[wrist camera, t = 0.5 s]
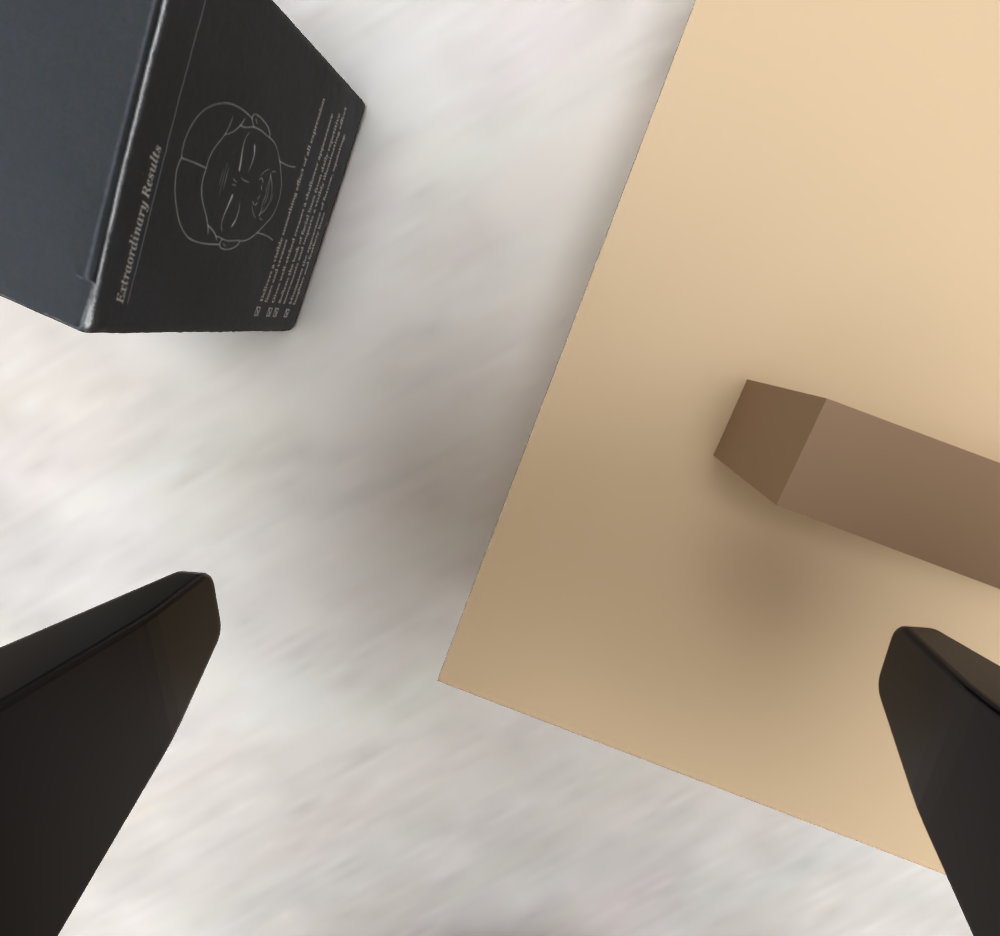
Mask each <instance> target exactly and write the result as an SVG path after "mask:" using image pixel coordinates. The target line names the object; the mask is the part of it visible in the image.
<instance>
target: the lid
mask: <svg viewBox="0 0 1000 936" xmlns="http://www.w3.org/2000/svg"><path fill="white" fill-rule="evenodd" d="M901 626H912V627H926V628H933V629H936V630H938V631H940V632H942V633H943V634H945V635H947V636H948V637H950V638H952V639H954V640H955V641H957V642H959V643H961V644H962V645H964V646H966V647H968V648H969V649H971V650H973V651H975V652H976V653H978V654H980V655H982V656H983V657H985V658H987V659H989V660H990V661H992V662H994V663H996V664H997V665H999V666H1000V0H696V1H695V3H694V6H693V9H692V11H691V14H690V16H689V19H688V22H687V24H686V27H685V30H684V32H683V35H682V38H681V40H680V43H679V45H678V48H677V51H676V53H675V56H674V59H673V61H672V64H671V66H670V69H669V72H668V74H667V77H666V80H665V82H664V85H663V88H662V90H661V93H660V95H659V98H658V101H657V103H656V106H655V109H654V111H653V114H652V116H651V119H650V122H649V124H648V127H647V130H646V132H645V135H644V138H643V140H642V143H641V145H640V148H639V151H638V153H637V156H636V159H635V161H634V164H633V166H632V169H631V172H630V174H629V177H628V180H627V182H626V185H625V188H624V190H623V193H622V195H621V198H620V201H619V203H618V206H617V209H616V211H615V214H614V216H613V219H612V222H611V224H610V227H609V230H608V232H607V235H606V237H605V240H604V243H603V245H602V248H601V251H600V253H599V256H598V259H597V261H596V264H595V266H594V269H593V272H592V274H591V277H590V280H589V282H588V285H587V287H586V290H585V293H584V295H583V298H582V301H581V303H580V306H579V309H578V311H577V314H576V316H575V319H574V322H573V324H572V327H571V330H570V332H569V335H568V337H567V340H566V343H565V345H564V348H563V351H562V353H561V356H560V359H559V361H558V364H557V366H556V369H555V372H554V374H553V377H552V380H551V382H550V385H549V387H548V390H547V393H546V395H545V398H544V401H543V403H542V406H541V409H540V411H539V414H538V416H537V419H536V422H535V424H534V427H533V430H532V432H531V435H530V437H529V440H528V443H527V445H526V448H525V451H524V453H523V456H522V459H521V461H520V464H519V466H518V469H517V472H516V474H515V477H514V480H513V482H512V485H511V487H510V490H509V493H508V495H507V498H506V501H505V503H504V506H503V508H502V511H501V514H500V516H499V519H498V522H497V524H496V527H495V530H494V532H493V535H492V537H491V540H490V543H489V545H488V548H487V551H486V553H485V556H484V558H483V561H482V564H481V566H480V569H479V572H478V574H477V577H476V580H475V582H474V585H473V587H472V590H471V593H470V595H469V598H468V601H467V603H466V606H465V608H464V611H463V614H462V616H461V619H460V622H459V624H458V627H457V630H456V632H455V635H454V637H453V640H452V643H451V645H450V648H449V651H448V653H447V656H446V658H445V661H444V664H443V666H442V669H441V672H440V675H439V678H438V681H440V682H442V683H445V684H447V685H450V686H453V687H455V688H458V689H461V690H463V691H466V692H468V693H471V694H474V695H476V696H479V697H481V698H484V699H487V700H489V701H492V702H495V703H497V704H500V705H502V706H505V707H508V708H510V709H513V710H516V711H518V712H521V713H523V714H526V715H529V716H531V717H534V718H536V719H539V720H542V721H544V722H547V723H550V724H552V725H555V726H557V727H560V728H563V729H565V730H568V731H571V732H573V733H576V734H578V735H581V736H584V737H586V738H589V739H592V740H594V741H597V742H599V743H602V744H605V745H607V746H610V747H612V748H615V749H618V750H620V751H623V752H626V753H628V754H631V755H633V756H636V757H639V758H641V759H644V760H647V761H649V762H652V763H654V764H657V765H660V766H662V767H665V768H667V769H670V770H673V771H675V772H678V773H681V774H683V775H686V776H688V777H691V778H694V779H696V780H699V781H702V782H704V783H707V784H709V785H712V786H715V787H717V788H720V789H722V790H725V791H728V792H730V793H733V794H736V795H738V796H741V797H743V798H746V799H749V800H751V801H754V802H757V803H759V804H762V805H764V806H767V807H770V808H772V809H775V810H778V811H780V812H783V813H785V814H788V815H791V816H793V817H796V818H798V819H801V820H804V821H806V822H809V823H812V824H814V825H817V826H819V827H822V828H825V829H827V830H830V831H833V832H835V833H838V834H840V835H843V836H846V837H848V838H851V839H853V840H856V841H859V842H861V843H864V844H867V845H869V846H872V847H874V848H877V849H880V850H882V851H885V852H888V853H890V854H893V855H895V856H898V857H901V858H903V859H906V860H908V861H911V862H914V863H916V864H919V865H922V866H924V867H927V868H929V869H932V870H935V871H937V872H940V873H943V874H945V875H946V873H945V871H944V869H943V867H942V864H941V862H940V860H939V858H938V855H937V853H936V851H935V849H934V847H933V844H932V842H931V840H930V838H929V835H928V833H927V831H926V829H925V826H924V824H923V822H922V819H921V817H920V814H919V812H918V810H917V807H916V804H915V801H914V799H913V796H912V793H911V790H910V787H909V784H908V781H907V778H906V775H905V772H904V769H903V766H902V763H901V760H900V757H899V754H898V751H897V748H896V745H895V742H894V738H893V735H892V732H891V729H890V726H889V723H888V720H887V717H886V714H885V711H884V708H883V705H882V702H881V699H880V695H879V688H878V682H879V675H880V672H881V669H882V666H883V663H884V659H885V656H886V653H887V650H888V647H889V644H890V641H891V637H892V635H893V633H894V631H895V630H896V629H897V628H899V627H901Z"/></svg>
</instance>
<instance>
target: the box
mask: <svg viewBox="0 0 1000 936" xmlns="http://www.w3.org/2000/svg"><path fill="white" fill-rule="evenodd" d="M364 106H365V104H364V102H363V101H362V99H360V98H359V96H358V95H357V94H356V93H355V92H354V91H353V90H352V89H351V87H350V86H349V85H348V84H347V83H346V82H345V80H344V79H343V78H342V77H341V76H340V75H339V74H338V73H337V72H336V71H335V70H334V68H333V67H332V66H331V65H330V64H329V63H328V62H327V60H326V59H325V58H324V57H323V56H322V55H321V54H320V53H319V52H318V50H316V49H315V47H314V46H313V45H312V44H311V43H310V42H309V40H308V39H307V38H306V37H305V36H304V35H303V34H302V33H301V32H300V31H299V29H298V28H297V27H296V26H295V25H294V24H293V23H292V21H291V20H290V19H289V18H288V17H287V16H286V15H285V14H284V13H283V12H282V11H281V9H280V8H279V7H278V6H277V5H276V4H275V3H274V2H273V1H272V0H0V296H2V297H5V298H7V299H9V300H12V301H14V302H16V303H18V304H21V305H23V306H25V307H27V308H29V309H31V310H34V311H36V312H38V313H40V314H43V315H45V316H47V317H50V318H52V319H54V320H57V321H59V322H61V323H64V324H66V325H68V326H70V327H72V328H75V329H77V330H79V331H82V332H87V333H141V332H143V333H149V332H224V331H225V332H230V331H232V332H235V331H238V332H239V331H286V330H290V329H291V328H292V327H293V325H294V322H295V320H296V317H297V314H298V311H299V308H300V305H301V302H302V299H303V296H304V292H305V289H306V286H307V283H308V280H309V277H310V274H311V271H312V268H313V265H314V262H315V259H316V256H317V253H318V249H319V247H320V244H321V240H322V237H323V234H324V231H325V228H326V224H327V221H328V218H329V215H330V212H331V209H332V206H333V203H334V201H335V197H336V194H337V191H338V188H339V185H340V181H341V178H342V175H343V172H344V169H345V166H346V163H347V160H348V156H349V153H350V150H351V147H352V144H353V141H354V138H355V135H356V132H357V129H358V125H359V122H360V119H361V116H362V112H363V109H364Z"/></svg>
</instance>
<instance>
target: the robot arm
mask: <svg viewBox="0 0 1000 936" xmlns="http://www.w3.org/2000/svg"><path fill="white" fill-rule="evenodd" d="M220 627H221V624H220V617H219V611H218V605H217V599H216V593H215V587H214V583H213V580H212V578H211V577H210V576H209V575H208V574H207V573H199V572H186V571H180V572H176V573H173V574H171V575H168V576H166V577H164V578H161V579H159V580H157V581H154V582H152V583H150V584H147V585H145V586H143V587H140V588H138V589H136V590H133V591H131V592H129V593H126V594H124V595H122V596H119V597H117V598H115V599H112V600H110V601H108V602H105V603H103V604H101V605H98V606H96V607H94V608H91V609H89V610H87V611H84V612H82V613H80V614H77V615H75V616H73V617H70V618H68V619H66V620H63V621H61V622H59V623H56V624H54V625H52V626H49V627H47V628H45V629H42V630H40V631H38V632H35V633H33V634H31V635H28V636H26V637H24V638H21V639H19V640H17V641H14V642H12V643H10V644H7V645H5V646H3V647H0V936H58V934H59V933H60V931H61V929H62V928H63V926H64V924H65V922H66V921H67V919H68V917H69V916H70V914H71V912H72V911H73V909H74V907H75V905H76V904H77V902H78V900H79V899H80V897H81V895H82V893H83V892H84V890H85V888H86V887H87V885H88V883H89V882H90V880H91V878H92V876H93V875H94V873H95V871H96V870H97V868H98V866H99V865H100V863H101V861H102V859H103V858H104V856H105V854H106V853H107V851H108V849H109V847H110V846H111V844H112V842H113V841H114V839H115V837H116V836H117V834H118V832H119V830H120V829H121V827H122V825H123V824H124V822H125V820H126V819H127V817H128V815H129V813H130V812H131V810H132V808H133V807H134V805H135V803H136V802H137V800H138V798H139V796H140V795H141V793H142V791H143V790H144V788H145V786H146V784H147V783H148V781H149V779H150V778H151V776H152V774H153V773H154V771H155V769H156V767H157V766H158V764H159V762H160V761H161V759H162V757H163V756H164V754H165V752H166V750H167V748H168V747H169V745H170V743H171V741H172V739H173V737H174V735H175V733H176V731H177V729H178V727H179V725H180V723H181V721H182V719H183V717H184V714H185V712H186V710H187V708H188V706H189V703H190V701H191V699H192V697H193V695H194V692H195V690H196V688H197V686H198V684H199V681H200V679H201V677H202V675H203V673H204V670H205V668H206V666H207V664H208V662H209V659H210V657H211V655H212V653H213V651H214V648H215V646H216V644H217V641H218V639H219V635H220ZM878 688H879V695H880V699H881V702H882V705H883V708H884V711H885V714H886V717H887V720H888V723H889V726H890V729H891V732H892V735H893V738H894V742H895V745H896V748H897V751H898V754H899V757H900V760H901V763H902V766H903V769H904V772H905V775H906V778H907V781H908V784H909V787H910V790H911V793H912V796H913V799H914V801H915V804H916V807H917V810H918V812H919V814H920V817H921V819H922V822H923V824H924V826H925V829H926V831H927V833H928V835H929V838H930V840H931V842H932V844H933V847H934V849H935V851H936V853H937V855H938V858H939V860H940V862H941V864H942V867H943V869H944V871H945V873H946V875H947V878H948V880H949V882H950V884H951V887H952V889H953V891H954V893H955V896H956V898H957V900H958V902H959V904H960V907H961V909H962V911H963V913H964V916H965V918H966V920H967V922H968V924H969V927H970V929H971V931H972V933H973V936H1000V666H999V665H997V664H996V663H994V662H992V661H990V660H989V659H987V658H985V657H983V656H982V655H980V654H978V653H976V652H975V651H973V650H971V649H969V648H968V647H966V646H964V645H962V644H961V643H959V642H957V641H955V640H954V639H952V638H950V637H948V636H947V635H945V634H943V633H942V632H940V631H938V630H936V629H933V628H926V627H912V626H901V627H899V628H897V629H896V630H895V631H894V633H893V635H892V637H891V641H890V644H889V647H888V650H887V653H886V656H885V659H884V663H883V666H882V669H881V672H880V675H879V682H878Z"/></svg>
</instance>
